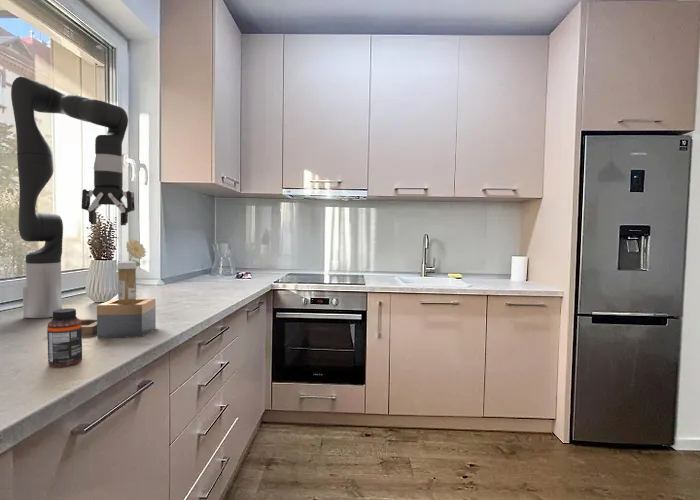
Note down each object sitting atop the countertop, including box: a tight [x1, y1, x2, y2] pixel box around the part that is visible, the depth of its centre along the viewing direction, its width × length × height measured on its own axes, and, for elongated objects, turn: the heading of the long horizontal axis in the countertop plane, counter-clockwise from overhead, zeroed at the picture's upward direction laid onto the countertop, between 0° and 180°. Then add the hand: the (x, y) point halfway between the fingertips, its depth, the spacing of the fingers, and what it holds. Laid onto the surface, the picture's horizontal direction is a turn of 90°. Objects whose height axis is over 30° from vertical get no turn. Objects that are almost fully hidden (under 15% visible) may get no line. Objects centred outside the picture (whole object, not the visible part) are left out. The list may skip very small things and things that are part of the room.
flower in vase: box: [110, 238, 147, 300], centre depth 151 cm, size 13×11×25 cm
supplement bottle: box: [46, 307, 83, 368], centre depth 89 cm, size 6×6×11 cm
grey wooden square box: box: [96, 297, 157, 339], centre depth 117 cm, size 11×11×8 cm
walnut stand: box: [46, 318, 97, 338], centre depth 117 cm, size 11×11×2 cm
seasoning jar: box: [116, 260, 137, 304], centre depth 116 cm, size 5×5×13 cm
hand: (108, 224), depth 130 cm, fingers open, 8 cm apart
